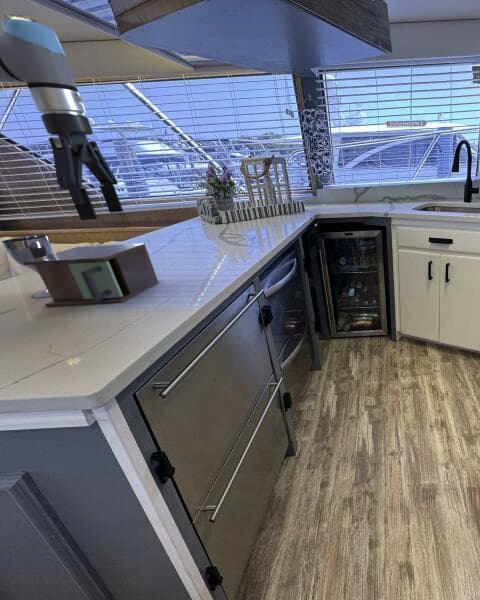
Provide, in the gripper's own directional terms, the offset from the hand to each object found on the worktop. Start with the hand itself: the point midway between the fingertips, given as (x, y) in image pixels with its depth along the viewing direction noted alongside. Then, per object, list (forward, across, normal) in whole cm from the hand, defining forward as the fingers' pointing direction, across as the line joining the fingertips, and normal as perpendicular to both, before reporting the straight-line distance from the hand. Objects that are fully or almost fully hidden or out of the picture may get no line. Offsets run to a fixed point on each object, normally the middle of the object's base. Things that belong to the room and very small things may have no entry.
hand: (104, 215), depth 77 cm
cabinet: (+20, +3, +7) cm, 22 cm away
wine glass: (+20, +11, +23) cm, 33 cm away
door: (+19, -6, +5) cm, 21 cm away
